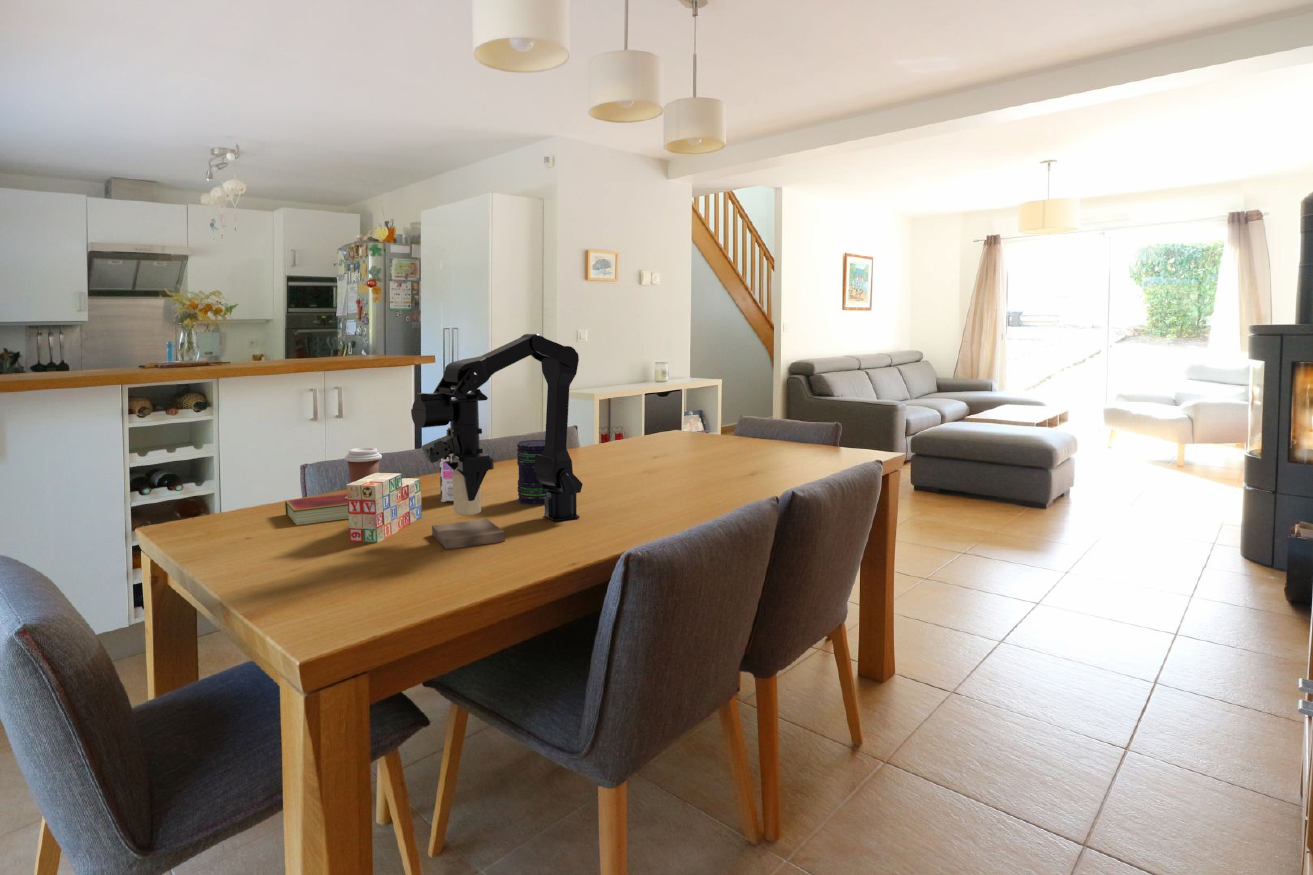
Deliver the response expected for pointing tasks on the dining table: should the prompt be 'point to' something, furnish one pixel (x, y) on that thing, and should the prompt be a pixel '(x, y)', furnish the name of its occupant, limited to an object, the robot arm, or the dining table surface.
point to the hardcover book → (317, 509)
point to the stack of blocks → (382, 506)
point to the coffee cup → (362, 462)
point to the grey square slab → (468, 533)
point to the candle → (464, 497)
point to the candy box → (446, 481)
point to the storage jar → (529, 473)
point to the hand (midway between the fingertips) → (467, 497)
